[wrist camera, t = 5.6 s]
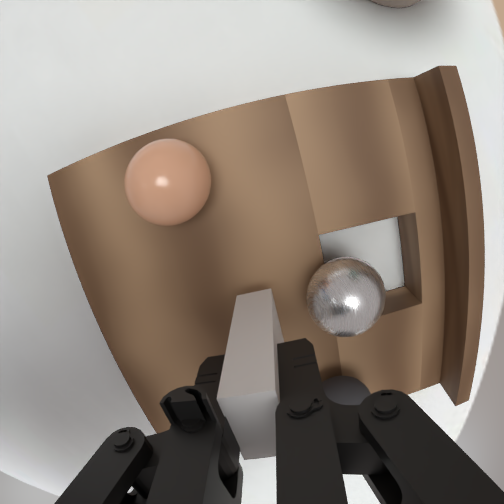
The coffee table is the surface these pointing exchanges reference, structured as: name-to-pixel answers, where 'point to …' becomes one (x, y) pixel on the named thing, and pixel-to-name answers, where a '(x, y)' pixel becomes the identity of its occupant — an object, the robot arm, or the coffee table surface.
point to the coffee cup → (396, 3)
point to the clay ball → (167, 182)
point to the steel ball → (345, 297)
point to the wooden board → (292, 235)
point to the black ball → (345, 390)
